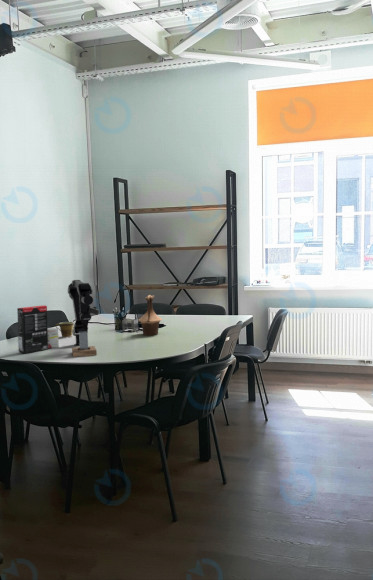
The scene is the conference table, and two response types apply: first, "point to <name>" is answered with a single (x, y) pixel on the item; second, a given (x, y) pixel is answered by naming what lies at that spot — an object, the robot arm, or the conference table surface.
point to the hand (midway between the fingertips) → (85, 328)
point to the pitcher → (150, 319)
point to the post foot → (84, 351)
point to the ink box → (53, 337)
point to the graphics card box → (32, 329)
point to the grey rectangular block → (83, 340)
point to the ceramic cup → (66, 328)
